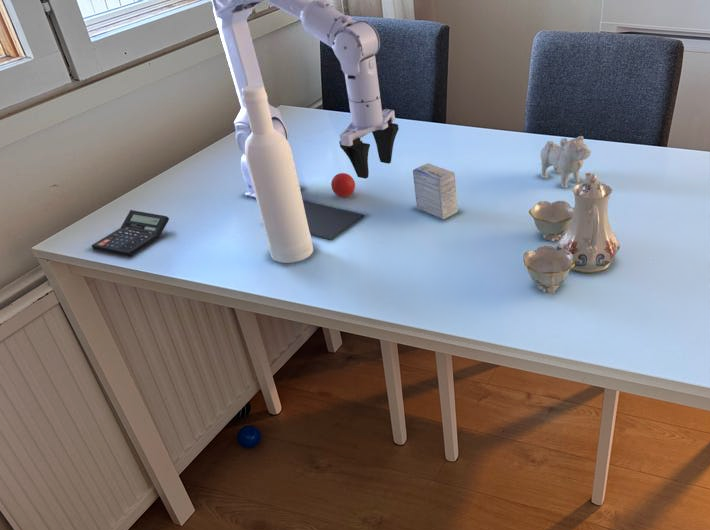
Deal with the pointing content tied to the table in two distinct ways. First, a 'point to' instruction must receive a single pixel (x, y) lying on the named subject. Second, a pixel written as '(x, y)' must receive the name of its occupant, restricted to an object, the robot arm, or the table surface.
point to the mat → (328, 220)
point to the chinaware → (573, 236)
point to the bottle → (275, 182)
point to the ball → (343, 185)
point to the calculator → (133, 234)
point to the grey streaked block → (435, 190)
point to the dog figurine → (564, 158)
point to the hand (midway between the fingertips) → (374, 169)
